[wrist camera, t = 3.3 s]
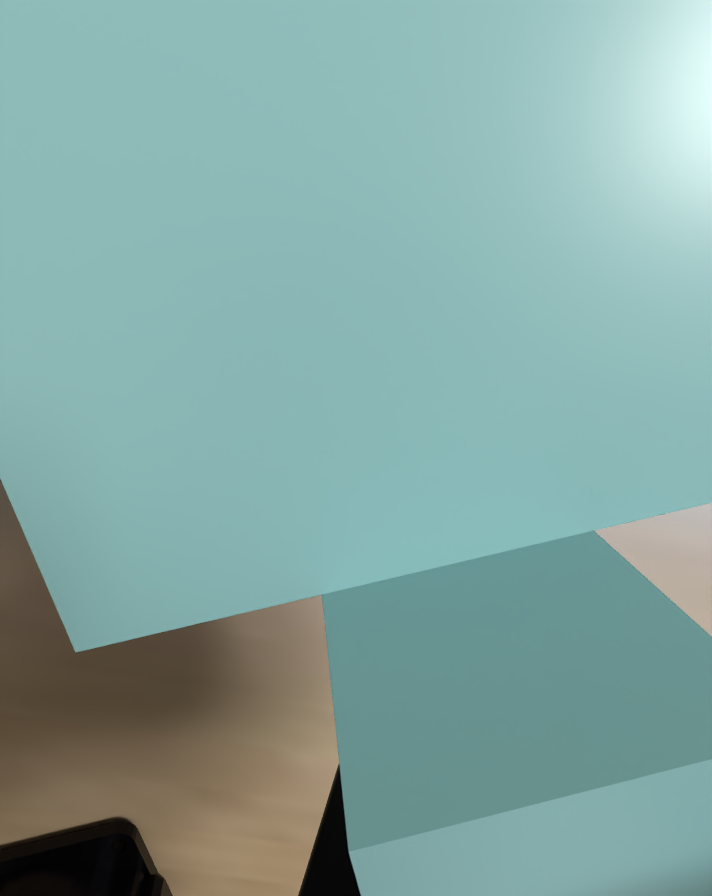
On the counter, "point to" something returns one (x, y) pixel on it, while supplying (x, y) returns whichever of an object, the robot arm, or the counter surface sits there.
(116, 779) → the counter surface
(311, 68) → the lid
